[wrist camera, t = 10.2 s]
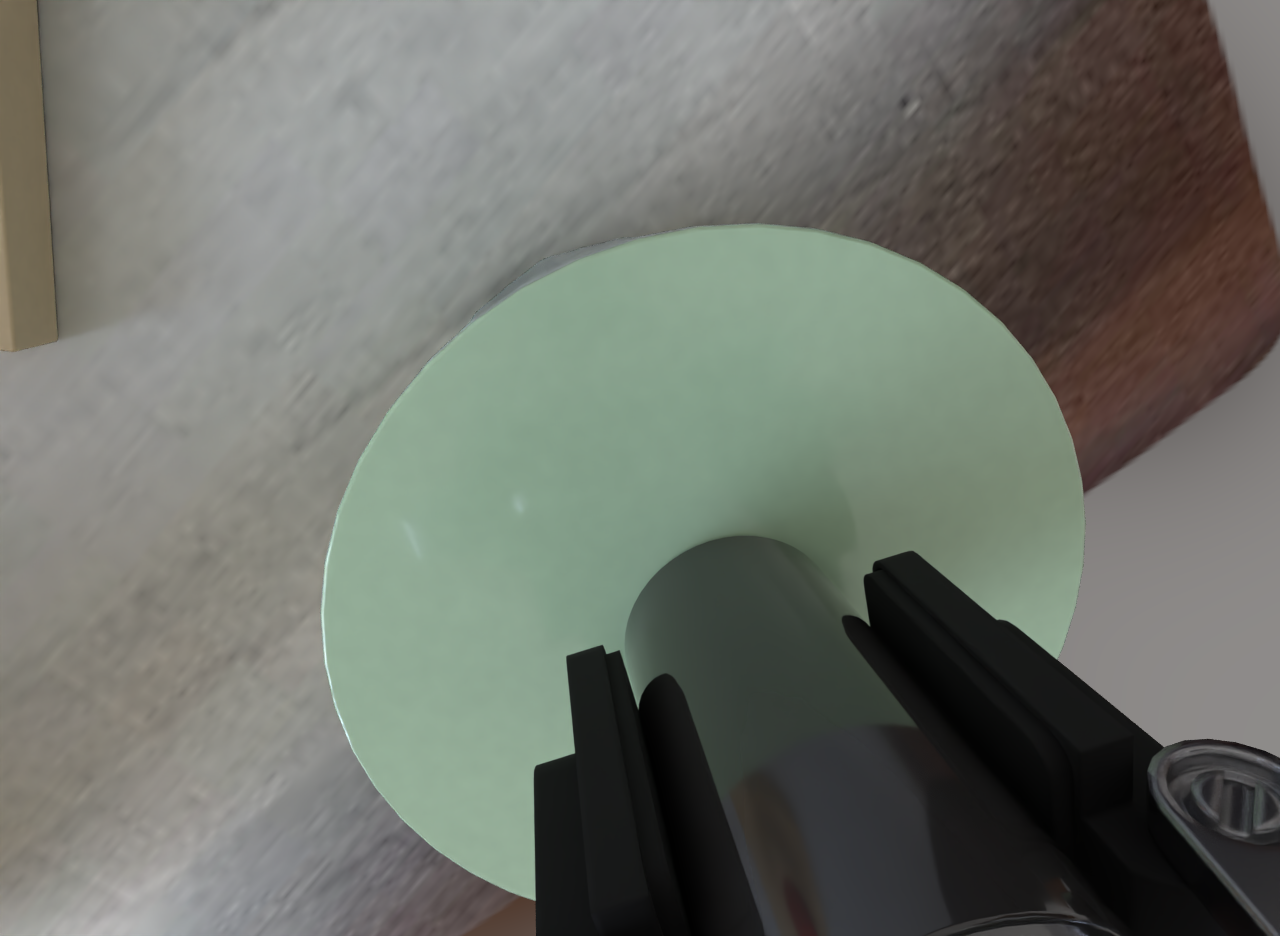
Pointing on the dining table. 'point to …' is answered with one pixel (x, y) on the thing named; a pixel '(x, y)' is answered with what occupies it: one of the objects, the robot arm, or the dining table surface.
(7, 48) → the switch block
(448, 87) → the dining table surface
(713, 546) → the lid
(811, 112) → the dining table surface
